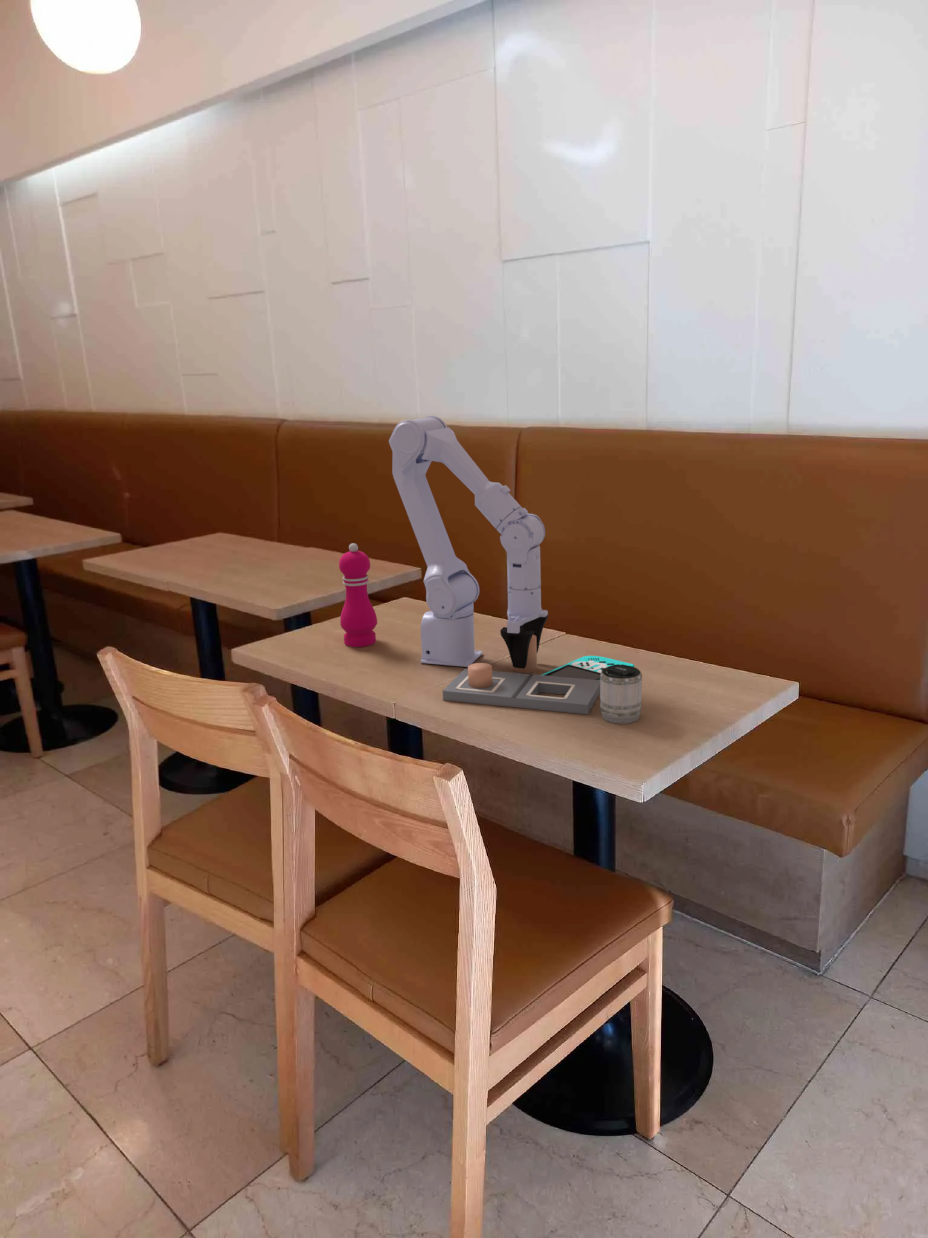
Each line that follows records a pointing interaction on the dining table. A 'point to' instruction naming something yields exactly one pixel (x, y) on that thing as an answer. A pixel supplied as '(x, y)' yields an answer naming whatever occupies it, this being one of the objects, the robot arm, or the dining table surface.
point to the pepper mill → (357, 600)
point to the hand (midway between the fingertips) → (525, 660)
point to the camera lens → (620, 694)
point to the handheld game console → (585, 668)
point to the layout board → (522, 690)
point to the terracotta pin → (530, 658)
